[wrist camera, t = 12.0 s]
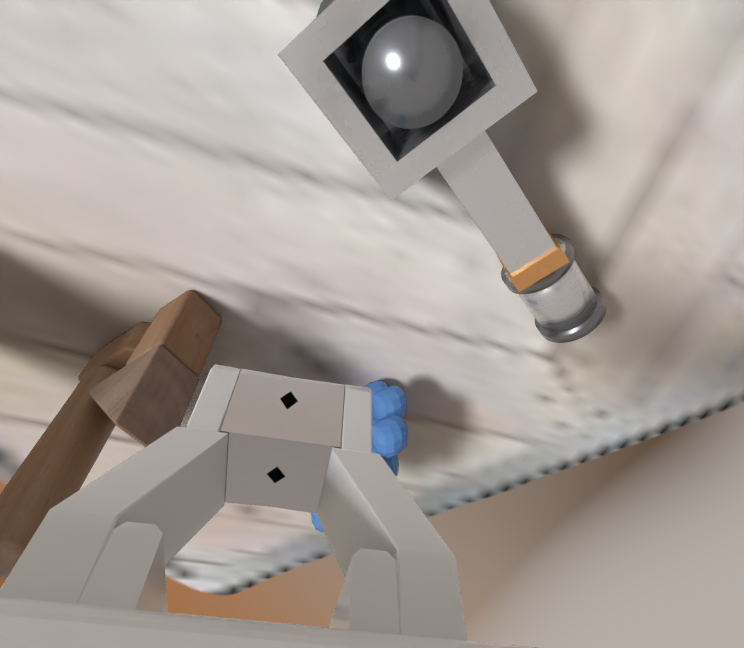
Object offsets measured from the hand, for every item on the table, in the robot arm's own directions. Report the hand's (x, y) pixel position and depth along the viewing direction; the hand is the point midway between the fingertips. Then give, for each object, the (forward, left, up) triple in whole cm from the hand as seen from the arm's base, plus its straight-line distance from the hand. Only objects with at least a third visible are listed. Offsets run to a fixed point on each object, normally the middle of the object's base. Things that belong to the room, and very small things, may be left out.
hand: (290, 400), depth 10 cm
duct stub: (-10, +16, -26) cm, 32 cm away
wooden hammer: (+20, +9, -26) cm, 34 cm away
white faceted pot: (-5, -2, -26) cm, 26 cm away
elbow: (-6, +3, -24) cm, 25 cm away
